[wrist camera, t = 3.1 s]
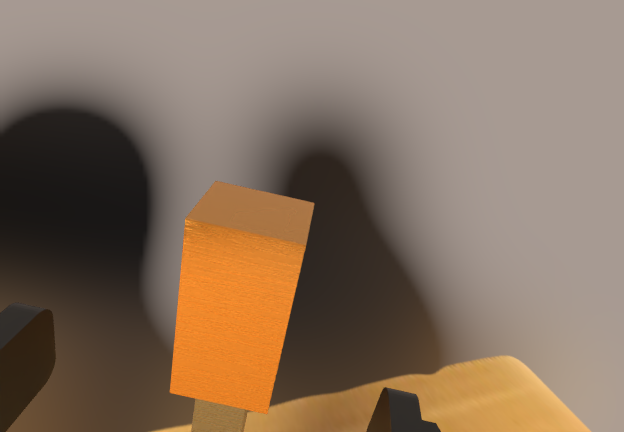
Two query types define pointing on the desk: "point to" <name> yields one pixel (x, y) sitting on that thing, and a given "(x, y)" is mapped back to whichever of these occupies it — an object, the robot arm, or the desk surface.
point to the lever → (235, 301)
